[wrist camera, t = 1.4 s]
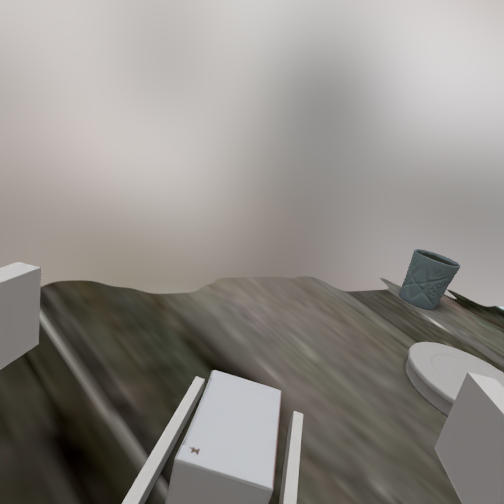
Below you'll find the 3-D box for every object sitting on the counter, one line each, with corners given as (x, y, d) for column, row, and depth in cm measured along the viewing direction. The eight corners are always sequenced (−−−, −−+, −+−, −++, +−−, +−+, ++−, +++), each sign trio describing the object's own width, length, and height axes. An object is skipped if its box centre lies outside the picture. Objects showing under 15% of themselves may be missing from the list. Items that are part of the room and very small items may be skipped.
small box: (232, 612, 20) (275, 494, 17) (146, 581, 20) (172, 460, 17) (252, 487, 28) (284, 388, 24) (189, 466, 28) (213, 366, 25)
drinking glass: (392, 288, 86) (409, 245, 82) (430, 298, 86) (448, 256, 82) (404, 304, 76) (424, 258, 73) (446, 316, 76) (469, 269, 72)
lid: (493, 370, 57) (501, 356, 56) (562, 469, 38) (576, 450, 37) (392, 336, 60) (398, 322, 60) (412, 411, 42) (421, 393, 41)
